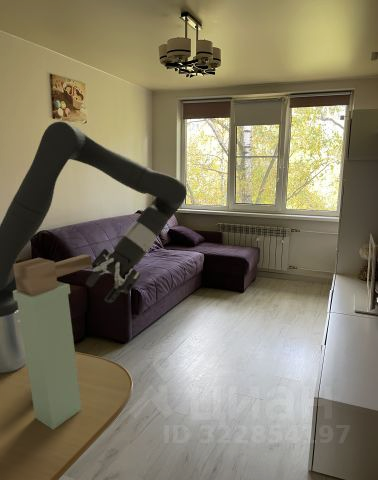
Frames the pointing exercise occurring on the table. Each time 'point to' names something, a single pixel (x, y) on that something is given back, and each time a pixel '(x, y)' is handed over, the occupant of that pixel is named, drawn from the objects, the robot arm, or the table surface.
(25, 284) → the mallet
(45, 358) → the stand
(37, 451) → the table surface
